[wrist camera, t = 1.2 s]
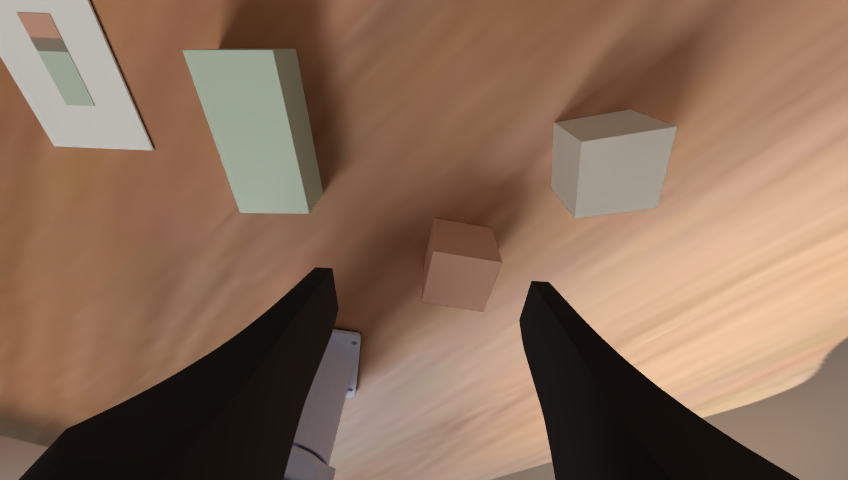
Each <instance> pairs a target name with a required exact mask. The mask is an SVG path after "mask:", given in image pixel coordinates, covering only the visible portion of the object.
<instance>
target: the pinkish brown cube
mask: <svg viewBox="0 0 848 480" xmlns="http://www.w3.org/2000/svg"><path fill="white" fill-rule="evenodd" d="M501 264H502V260H501V257H500V253H499V250H498V247H497V243H496V240H495V237H494V233H493V230H492V228H490V227H484V226H478V225H472V224H466V223H460V222H454V221H449V220H443V219H437V218H434V220H433V224H432V229H431V234H430V238H429V243H428V247H427V252H426V256H425V261H424V265H423V283H422V301H421V302H422V303H428V304H435V305H441V306H448V307H454V308H461V309H467V310H474V311H480V312H483V311H484V308H485V305H486V303H487V300H488V298H489V295H490V293H491V290H492V287H493V285H494V282H495V280H496V277H497V275H498V272H499V270H500V267H501Z"/></svg>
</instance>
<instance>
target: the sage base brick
mask: <svg viewBox="0 0 848 480" xmlns="http://www.w3.org/2000/svg"><path fill="white" fill-rule="evenodd" d="M183 53H184V56H185V59H186V62H187V65H188V67H189V70H190V73H191V76H192V79H193V81H194V84H195V87H196V90H197V93H198V95H199V98H200V101H201V104H202V107H203V110H204V112H205V115H206V118H207V121H208V124H209V126H210V129H211V132H212V135H213V138H214V141H215V143H216V146H217V149H218V152H219V155H220V157H221V160H222V163H223V166H224V169H225V171H226V174H227V177H228V180H229V183H230V186H231V188H232V191H233V194H234V197H235V200H236V202H237V205H238V208H239V211H240V213H304V214H309V213H310V212H311V210H312V209H313V207H314V206H315V205H316V203H317V202H318V201H319V199H320V198H321V196H322V195H323V190H322V184H321V179H320V174H319V169H318V163H317V158H316V153H315V147H314V142H313V137H312V132H311V126H310V121H309V116H308V110H307V105H306V100H305V95H304V89H303V84H302V79H301V73H300V68H299V63H298V58H297V52H296V49H201V50H183Z"/></svg>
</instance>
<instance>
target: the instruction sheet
mask: <svg viewBox="0 0 848 480" xmlns="http://www.w3.org/2000/svg"><path fill="white" fill-rule="evenodd" d="M0 57H1V58H2V60H3V62H4V63H5V65H6V67H7V68H8V70H9V72H10V73H11V75H12V77H13V78H14V80H15V82H16V83H17V85H18V87H19V88H20V90H21V92H22V93H23V95H24V97H25V98H26V100H27V102H28V103H29V105H30V107H31V108H32V110H33V112H34V113H35V115H36V117H37V118H38V120H39V122H40V123H41V125H42V127H43V128H44V130H45V132H46V133H47V135H48V137H49V138H50V140H51V142H52V143H53V145H54V146H61V147H85V148H108V149H132V150H154V148H153V146H152V143H151V141H150V139H149V136H148V134H147V132H146V130H145V127H144V125H143V123H142V120H141V118H140V116H139V113H138V111H137V109H136V106H135V104H134V102H133V100H132V97H131V95H130V93H129V90H128V88H127V86H126V83H125V81H124V79H123V76H122V74H121V72H120V69H119V67H118V65H117V63H116V60H115V58H114V56H113V53H112V51H111V49H110V46H109V44H108V42H107V39H106V37H105V35H104V32H103V30H102V28H101V26H100V23H99V21H98V19H97V16H96V14H95V12H94V9H93V7H92V5H91V2H90V0H0Z"/></svg>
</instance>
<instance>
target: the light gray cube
mask: <svg viewBox="0 0 848 480" xmlns="http://www.w3.org/2000/svg"><path fill="white" fill-rule="evenodd" d="M676 130H677V126H675V125H672V124H669V123H666V122H663V121H661V120H658V119H655V118H652V117H650V116H647V115H644V114H641V113H639V112H636V111H633V110H624V111H619V112H613V113H607V114H601V115H595V116H589V117H583V118H578V119H572V120H566V121H560V122H554V135H553V159H552V183H551V189H552V190H553V191H554V193H555V194H556V195H557V196H558V198H559V199H560V200H561V202H562V203H563V204H564V206H565V207H566V208H567V209H568V211H569V212H570V213H571V215H572V216H573V217H574V218H575V219H576V218H584V217H591V216H599V215H606V214H614V213H621V212H629V211H636V210H643V209H651V208H657V207H658V203H659V199H660V195H661V191H662V187H663V183H664V179H665V175H666V171H667V166H668V162H669V158H670V154H671V150H672V146H673V142H674V138H675V134H676Z"/></svg>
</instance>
